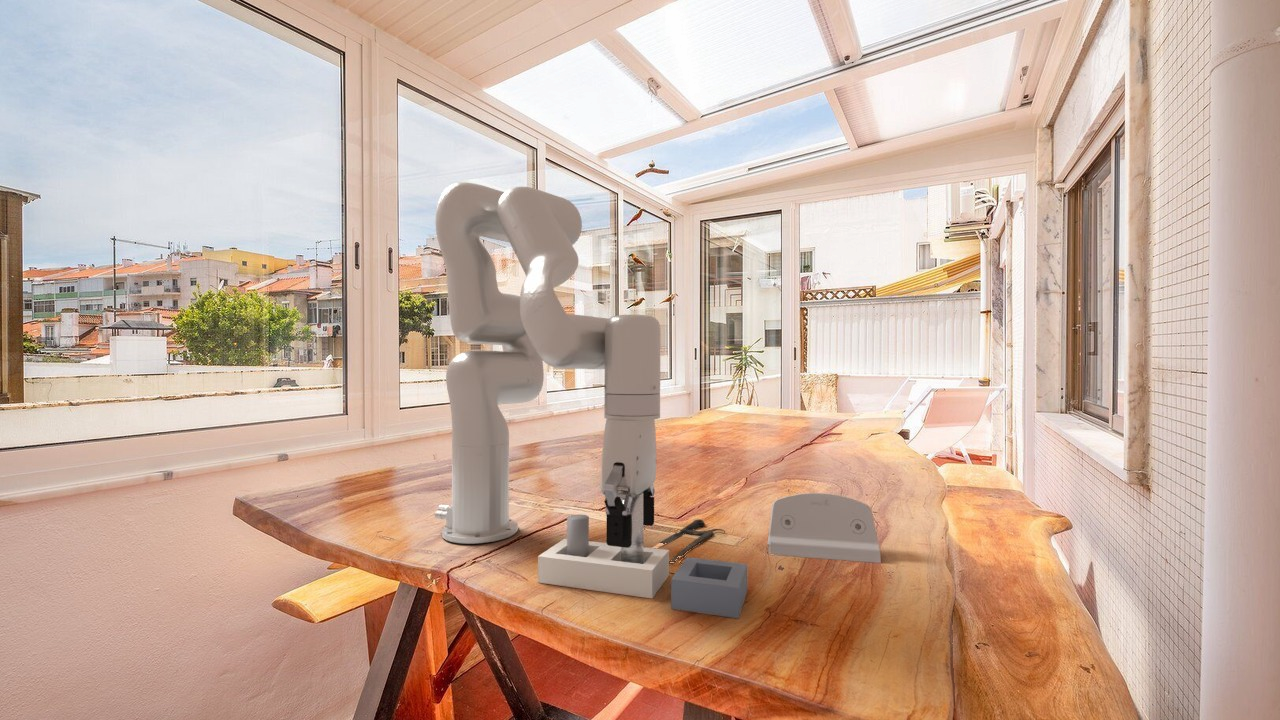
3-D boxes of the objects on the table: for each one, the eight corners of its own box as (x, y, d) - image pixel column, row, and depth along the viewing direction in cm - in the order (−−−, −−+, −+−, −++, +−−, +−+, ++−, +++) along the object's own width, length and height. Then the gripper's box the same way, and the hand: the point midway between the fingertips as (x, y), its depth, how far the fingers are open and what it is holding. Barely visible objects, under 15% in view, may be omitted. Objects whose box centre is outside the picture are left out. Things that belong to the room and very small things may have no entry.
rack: (538, 582, 73) (538, 522, 73) (564, 562, 81) (564, 507, 81) (652, 598, 68) (652, 534, 68) (669, 575, 76) (669, 517, 76)
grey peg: (617, 585, 72) (617, 494, 72) (625, 577, 75) (625, 489, 75) (639, 588, 71) (639, 496, 71) (646, 579, 74) (646, 491, 74)
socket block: (671, 608, 65) (671, 579, 65) (686, 583, 73) (686, 557, 73) (738, 618, 63) (738, 587, 63) (747, 591, 70) (747, 563, 70)
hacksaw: (696, 525, 101) (696, 517, 101) (749, 534, 95) (749, 526, 95) (621, 564, 81) (621, 554, 81) (683, 579, 75) (683, 568, 75)
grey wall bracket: (767, 554, 84) (767, 488, 87) (767, 555, 88) (767, 492, 92) (883, 563, 80) (879, 494, 84) (877, 563, 85) (873, 497, 88)
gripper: (627, 402, 83) (627, 515, 83) (579, 411, 66) (579, 552, 66) (675, 403, 80) (675, 519, 80) (638, 413, 64) (637, 559, 64)
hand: (631, 534), depth 73 cm, fingers open, 9 cm apart
